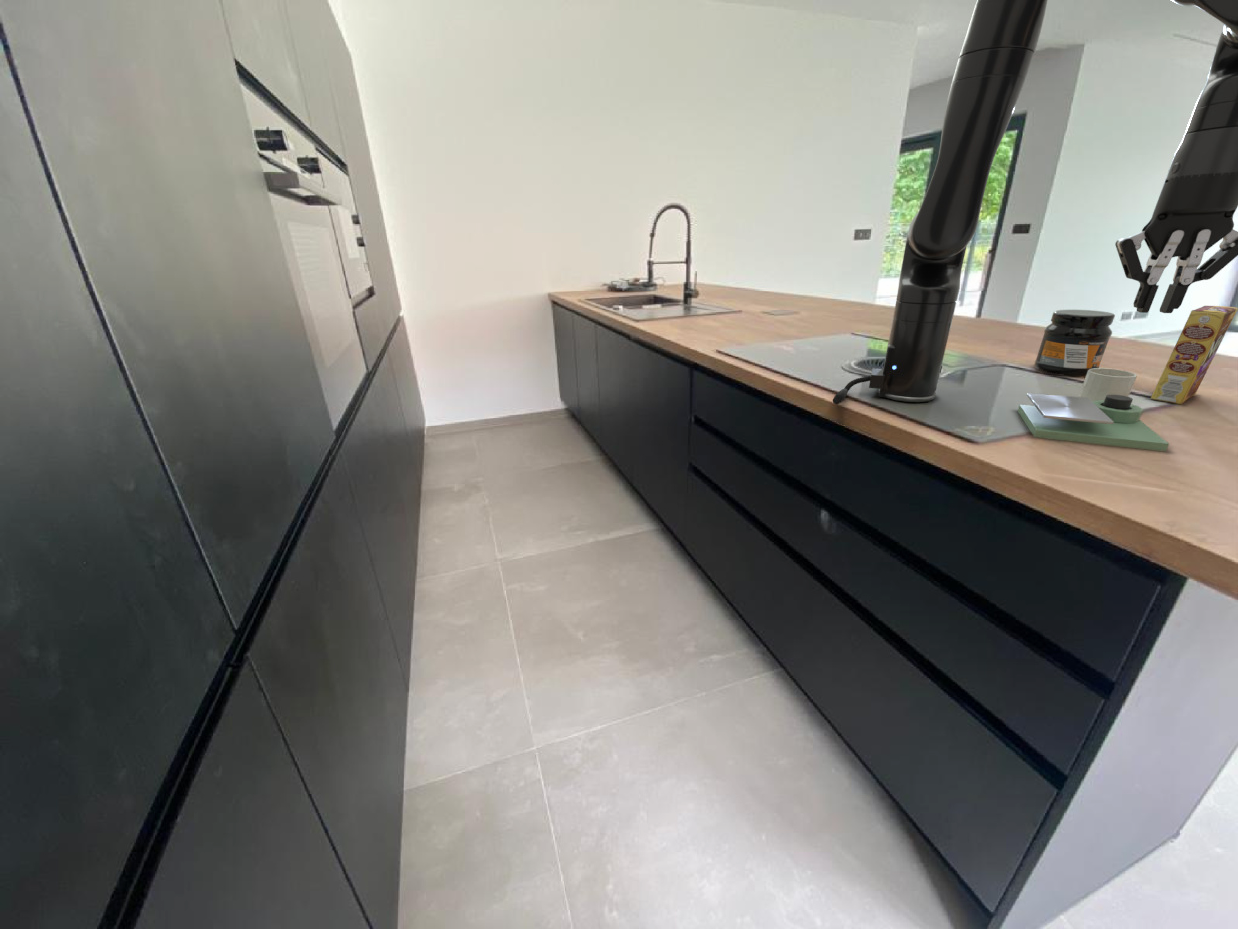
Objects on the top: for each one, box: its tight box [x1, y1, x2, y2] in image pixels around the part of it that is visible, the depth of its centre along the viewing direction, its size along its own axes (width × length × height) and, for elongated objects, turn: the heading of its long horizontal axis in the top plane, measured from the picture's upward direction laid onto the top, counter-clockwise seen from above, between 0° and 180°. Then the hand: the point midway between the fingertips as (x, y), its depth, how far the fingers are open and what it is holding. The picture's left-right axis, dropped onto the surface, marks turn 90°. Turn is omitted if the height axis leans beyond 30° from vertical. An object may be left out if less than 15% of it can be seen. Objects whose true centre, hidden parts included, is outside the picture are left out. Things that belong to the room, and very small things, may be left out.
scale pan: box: [1026, 392, 1114, 424], centre depth 77 cm, size 8×12×1 cm, turn 153°
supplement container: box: [1034, 309, 1116, 377], centre depth 104 cm, size 10×10×12 cm
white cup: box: [1078, 367, 1138, 401], centre depth 86 cm, size 6×6×6 cm
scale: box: [1017, 400, 1170, 452], centre depth 76 cm, size 14×14×3 cm
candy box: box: [1150, 305, 1238, 405], centre depth 85 cm, size 9×4×15 cm, turn 123°
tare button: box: [1103, 395, 1133, 410], centre depth 77 cm, size 3×3×2 cm
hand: (1153, 311), depth 71 cm, fingers closed
